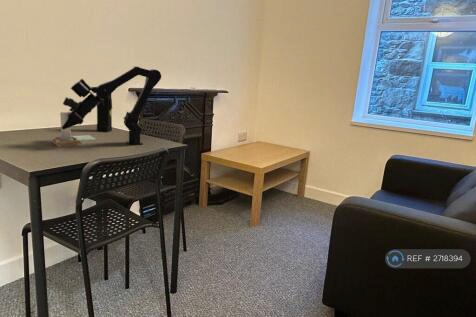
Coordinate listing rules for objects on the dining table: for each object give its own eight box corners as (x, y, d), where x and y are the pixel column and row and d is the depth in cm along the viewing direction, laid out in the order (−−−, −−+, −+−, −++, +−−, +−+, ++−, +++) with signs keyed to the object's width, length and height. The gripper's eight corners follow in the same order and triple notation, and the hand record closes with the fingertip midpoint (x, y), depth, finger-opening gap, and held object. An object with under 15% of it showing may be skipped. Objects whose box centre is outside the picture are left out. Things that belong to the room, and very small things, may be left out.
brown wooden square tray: (80, 145, 162) (80, 140, 161) (57, 147, 155) (57, 141, 155) (74, 141, 169) (74, 136, 169) (52, 142, 163) (51, 137, 162)
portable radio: (114, 130, 203) (114, 87, 197) (109, 132, 197) (109, 88, 191) (101, 129, 204) (100, 86, 198) (96, 131, 198) (95, 86, 192)
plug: (75, 143, 162) (74, 113, 158) (61, 144, 158) (59, 114, 155) (71, 141, 166) (70, 112, 163) (57, 141, 162) (56, 112, 159)
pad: (95, 140, 176) (95, 138, 175) (74, 141, 169) (74, 140, 169) (89, 136, 183) (89, 135, 183) (68, 137, 176) (68, 136, 176)
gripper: (74, 90, 166) (49, 112, 164) (74, 93, 150) (46, 118, 148) (92, 107, 171) (68, 128, 169) (94, 112, 155) (67, 136, 153)
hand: (62, 127), depth 160 cm, fingers closed on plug, 4 cm apart
